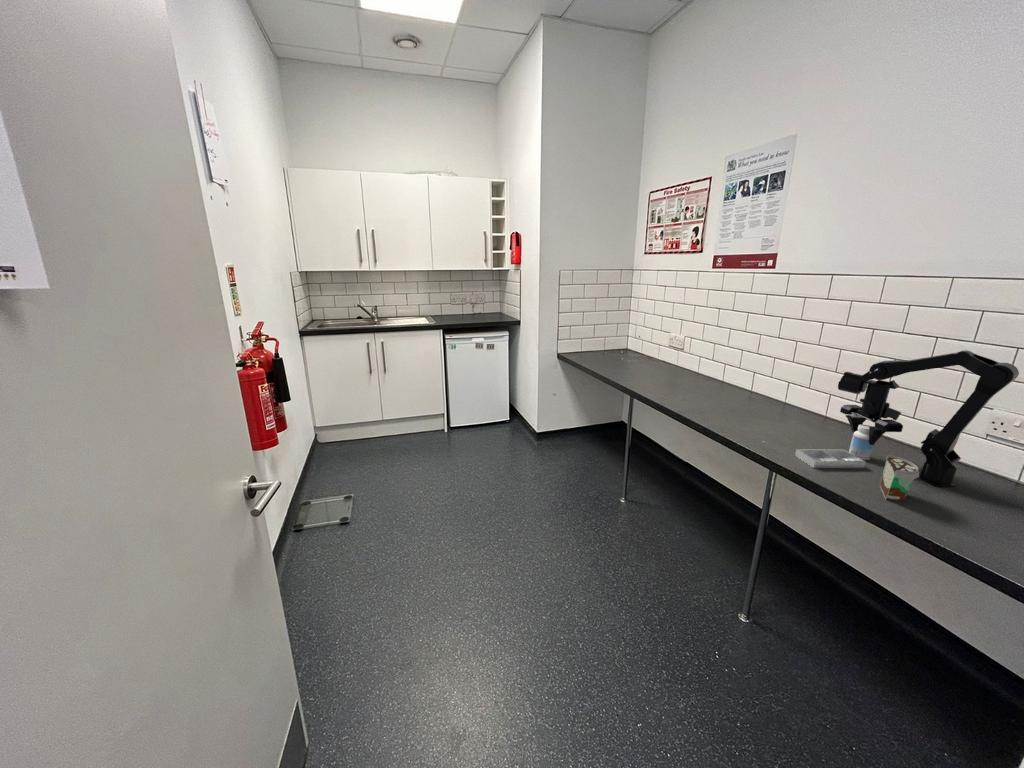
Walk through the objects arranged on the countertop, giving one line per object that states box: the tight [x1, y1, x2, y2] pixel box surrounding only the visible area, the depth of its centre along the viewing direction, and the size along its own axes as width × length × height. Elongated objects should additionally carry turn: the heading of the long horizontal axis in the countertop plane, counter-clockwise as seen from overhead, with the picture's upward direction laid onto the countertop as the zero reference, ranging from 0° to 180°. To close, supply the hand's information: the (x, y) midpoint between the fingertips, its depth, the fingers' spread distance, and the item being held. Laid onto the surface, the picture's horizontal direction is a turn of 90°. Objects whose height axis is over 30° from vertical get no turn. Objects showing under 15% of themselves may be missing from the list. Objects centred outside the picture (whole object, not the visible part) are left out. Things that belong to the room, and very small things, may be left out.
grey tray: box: [794, 448, 867, 469], centre depth 141 cm, size 9×17×2 cm, turn 91°
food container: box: [879, 454, 920, 502], centre depth 120 cm, size 12×6×10 cm, turn 148°
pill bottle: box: [848, 424, 875, 461], centre depth 144 cm, size 6×6×11 cm
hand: (863, 440), depth 143 cm, fingers closed on pill bottle, 6 cm apart
